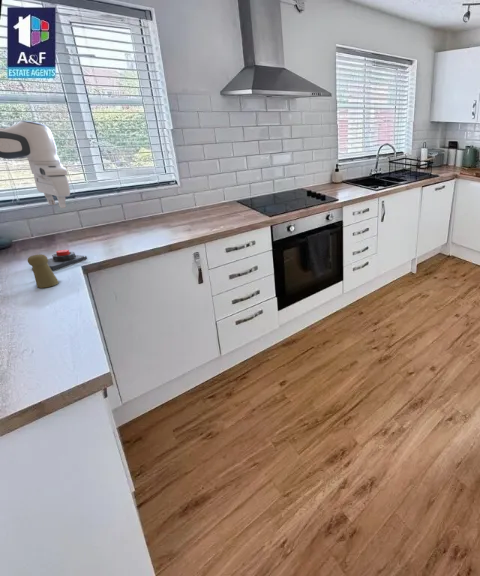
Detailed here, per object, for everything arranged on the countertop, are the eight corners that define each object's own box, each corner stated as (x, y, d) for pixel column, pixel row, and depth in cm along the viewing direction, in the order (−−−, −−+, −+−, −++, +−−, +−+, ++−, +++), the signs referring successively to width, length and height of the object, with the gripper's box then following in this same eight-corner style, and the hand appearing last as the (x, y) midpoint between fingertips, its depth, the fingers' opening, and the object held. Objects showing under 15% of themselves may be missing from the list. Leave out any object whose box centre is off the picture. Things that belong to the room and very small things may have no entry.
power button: (62, 256, 147) (61, 252, 146) (54, 256, 148) (53, 251, 147) (72, 254, 151) (71, 250, 150) (64, 253, 151) (63, 249, 151)
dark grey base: (54, 274, 142) (50, 261, 140) (33, 271, 144) (29, 259, 142) (88, 263, 155) (85, 251, 153) (68, 260, 156) (65, 249, 155)
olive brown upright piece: (46, 288, 129) (34, 259, 124) (32, 287, 130) (19, 257, 125) (63, 281, 134) (51, 253, 130) (49, 280, 135) (37, 252, 131)
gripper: (24, 167, 139) (36, 203, 145) (47, 171, 130) (58, 210, 135) (45, 166, 144) (56, 202, 150) (68, 170, 135) (79, 208, 140)
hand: (57, 206), depth 142 cm, fingers open, 8 cm apart
